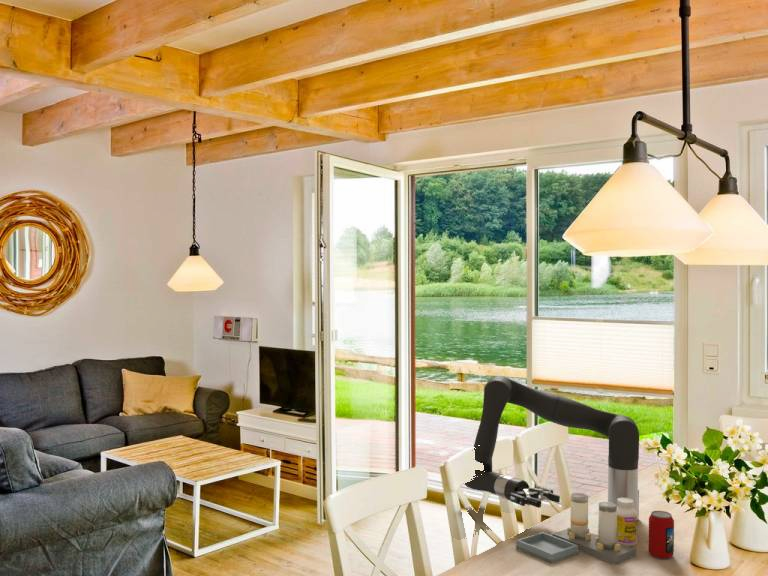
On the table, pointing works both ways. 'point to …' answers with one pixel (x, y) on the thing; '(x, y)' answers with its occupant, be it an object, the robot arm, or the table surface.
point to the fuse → (607, 525)
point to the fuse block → (597, 547)
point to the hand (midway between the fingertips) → (549, 501)
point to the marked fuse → (579, 515)
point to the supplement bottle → (626, 522)
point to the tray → (547, 547)
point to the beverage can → (661, 535)
